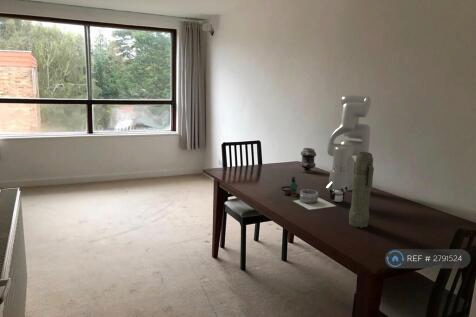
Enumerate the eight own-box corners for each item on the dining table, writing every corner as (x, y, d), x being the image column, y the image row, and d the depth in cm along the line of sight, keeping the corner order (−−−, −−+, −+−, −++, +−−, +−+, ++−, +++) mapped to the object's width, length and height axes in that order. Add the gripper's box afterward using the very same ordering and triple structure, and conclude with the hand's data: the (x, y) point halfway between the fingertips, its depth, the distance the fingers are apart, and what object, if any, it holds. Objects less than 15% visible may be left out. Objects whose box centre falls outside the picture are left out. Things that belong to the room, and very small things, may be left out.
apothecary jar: (316, 173, 272) (318, 150, 268) (300, 173, 272) (302, 149, 268) (313, 169, 284) (314, 147, 280) (298, 169, 284) (299, 147, 280)
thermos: (360, 230, 164) (367, 155, 157) (342, 221, 175) (348, 151, 168) (374, 227, 168) (382, 154, 161) (356, 219, 179) (363, 150, 172)
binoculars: (281, 176, 220) (297, 176, 218) (282, 193, 222) (298, 193, 220) (280, 180, 211) (297, 179, 209) (281, 197, 213) (297, 197, 211)
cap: (337, 197, 208) (338, 189, 207) (344, 201, 203) (345, 192, 202) (329, 198, 206) (329, 190, 205) (336, 202, 201) (336, 193, 199)
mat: (318, 198, 211) (318, 197, 211) (336, 206, 197) (336, 205, 197) (292, 201, 204) (292, 200, 204) (308, 210, 189) (309, 209, 189)
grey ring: (310, 197, 210) (311, 188, 209) (321, 203, 201) (321, 193, 200) (296, 199, 206) (296, 190, 205) (306, 205, 197) (306, 195, 196)
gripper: (347, 165, 207) (344, 195, 211) (322, 168, 200) (320, 198, 204) (356, 168, 200) (353, 199, 204) (331, 171, 194) (328, 203, 198)
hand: (337, 198), depth 204 cm, fingers closed on cap, 6 cm apart
